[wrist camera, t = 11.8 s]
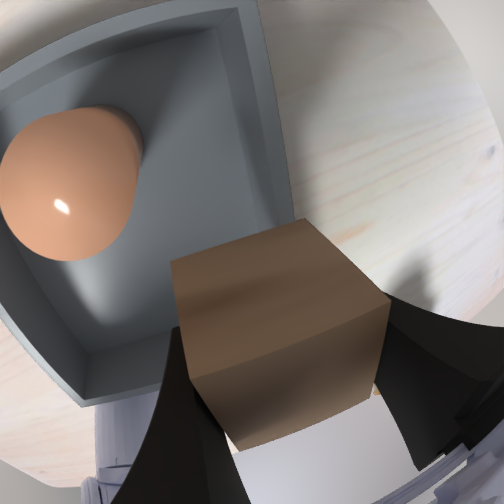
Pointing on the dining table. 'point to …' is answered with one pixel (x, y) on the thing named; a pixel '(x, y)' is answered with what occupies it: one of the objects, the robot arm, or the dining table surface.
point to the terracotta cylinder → (71, 181)
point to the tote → (146, 183)
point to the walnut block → (278, 331)
